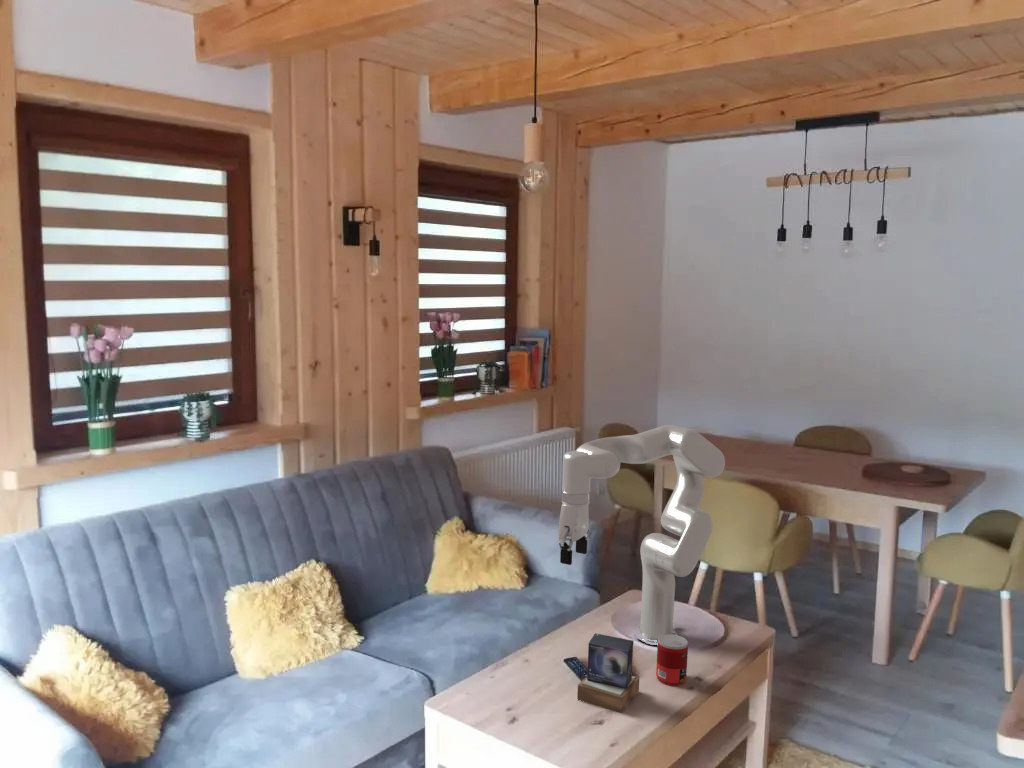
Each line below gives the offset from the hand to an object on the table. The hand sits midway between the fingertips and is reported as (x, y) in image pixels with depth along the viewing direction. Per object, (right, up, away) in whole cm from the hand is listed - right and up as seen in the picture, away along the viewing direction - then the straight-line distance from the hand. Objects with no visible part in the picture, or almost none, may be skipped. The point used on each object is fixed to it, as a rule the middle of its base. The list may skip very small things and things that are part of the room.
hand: (573, 558), depth 229 cm
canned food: (+26, -32, -3) cm, 41 cm away
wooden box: (+8, -33, -13) cm, 36 cm away
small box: (+8, -29, -13) cm, 33 cm away
